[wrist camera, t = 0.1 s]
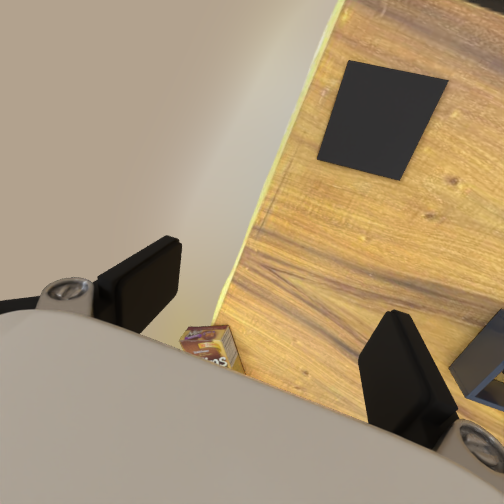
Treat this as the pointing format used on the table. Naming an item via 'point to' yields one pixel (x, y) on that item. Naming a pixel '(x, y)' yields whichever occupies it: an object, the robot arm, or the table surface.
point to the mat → (379, 118)
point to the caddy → (483, 365)
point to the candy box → (212, 345)
